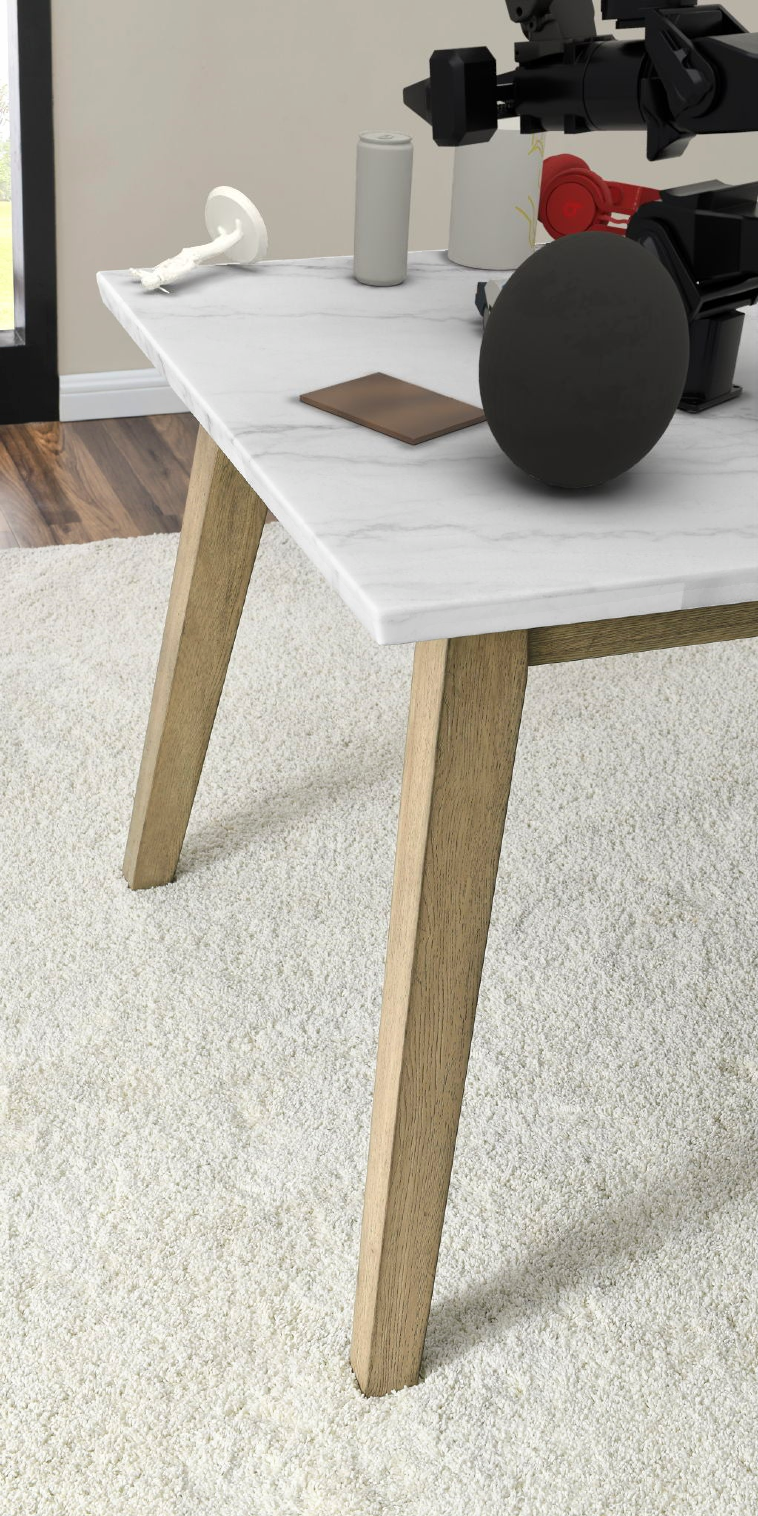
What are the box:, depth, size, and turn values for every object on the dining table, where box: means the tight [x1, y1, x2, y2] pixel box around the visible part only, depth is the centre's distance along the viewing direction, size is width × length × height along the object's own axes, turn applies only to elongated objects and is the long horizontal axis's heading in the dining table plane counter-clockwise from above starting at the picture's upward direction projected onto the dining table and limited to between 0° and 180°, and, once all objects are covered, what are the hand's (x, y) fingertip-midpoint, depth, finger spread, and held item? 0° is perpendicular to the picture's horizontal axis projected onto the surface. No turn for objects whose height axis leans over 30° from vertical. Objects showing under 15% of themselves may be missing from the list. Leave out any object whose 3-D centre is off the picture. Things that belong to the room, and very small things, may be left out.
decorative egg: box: [478, 231, 689, 489], centre depth 84 cm, size 12×12×15 cm
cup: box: [447, 117, 547, 271], centre depth 130 cm, size 8×8×12 cm
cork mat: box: [299, 371, 487, 446], centre depth 98 cm, size 11×8×1 cm
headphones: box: [537, 153, 661, 241], centre depth 141 cm, size 15×7×20 cm
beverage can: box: [352, 129, 414, 287], centre depth 122 cm, size 5×5×12 cm
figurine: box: [129, 185, 269, 294], centre depth 121 cm, size 7×7×12 cm
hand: (446, 90), depth 109 cm, fingers open, 9 cm apart
